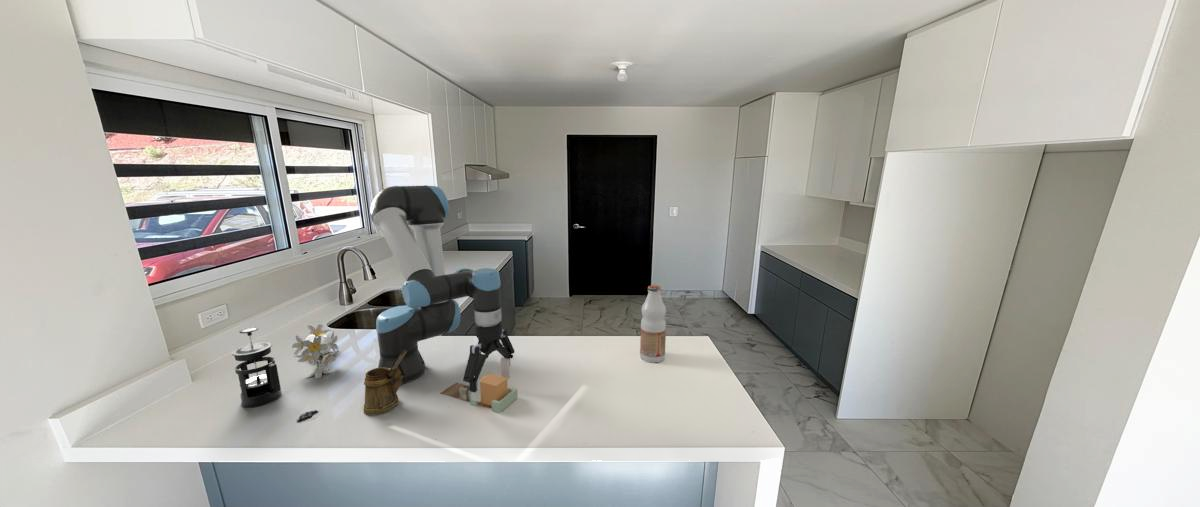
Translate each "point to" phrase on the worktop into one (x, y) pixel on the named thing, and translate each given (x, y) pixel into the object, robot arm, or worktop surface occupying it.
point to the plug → (492, 388)
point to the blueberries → (307, 415)
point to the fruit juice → (653, 326)
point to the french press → (258, 382)
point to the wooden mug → (382, 388)
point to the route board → (462, 393)
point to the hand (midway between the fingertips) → (492, 388)
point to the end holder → (503, 403)
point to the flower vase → (317, 349)
